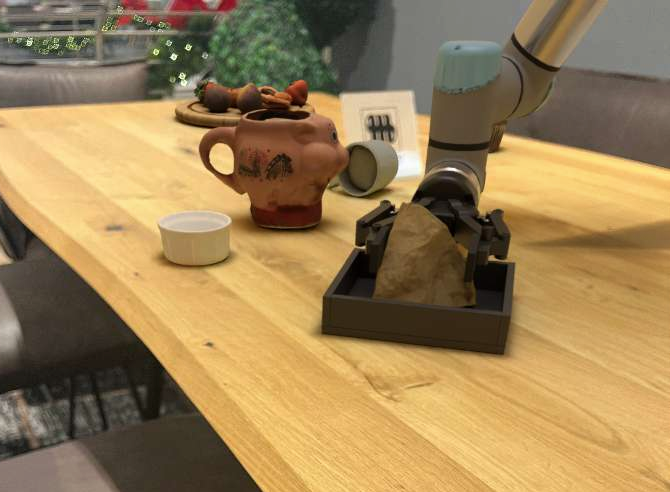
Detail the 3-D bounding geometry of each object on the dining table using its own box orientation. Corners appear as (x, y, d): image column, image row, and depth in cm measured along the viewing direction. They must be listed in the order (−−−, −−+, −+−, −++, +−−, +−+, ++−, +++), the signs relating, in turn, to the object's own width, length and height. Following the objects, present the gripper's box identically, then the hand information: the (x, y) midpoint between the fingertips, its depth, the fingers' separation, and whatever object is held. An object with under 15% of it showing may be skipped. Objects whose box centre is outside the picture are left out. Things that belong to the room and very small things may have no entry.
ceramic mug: (400, 189, 122) (403, 136, 118) (377, 200, 116) (380, 145, 112) (342, 181, 127) (343, 130, 122) (317, 191, 121) (318, 138, 117)
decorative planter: (198, 234, 101) (191, 119, 93) (205, 210, 111) (200, 103, 103) (348, 235, 101) (354, 120, 93) (342, 210, 111) (347, 104, 103)
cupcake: (497, 144, 153) (505, 88, 148) (507, 154, 146) (516, 95, 140) (449, 143, 154) (456, 87, 148) (457, 153, 146) (464, 94, 140)
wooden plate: (309, 106, 189) (310, 68, 185) (320, 130, 163) (322, 87, 159) (179, 106, 188) (177, 68, 183) (170, 130, 162) (167, 86, 157)
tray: (509, 296, 84) (515, 262, 82) (503, 354, 71) (511, 315, 69) (352, 281, 87) (354, 247, 85) (321, 333, 75) (322, 296, 73)
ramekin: (210, 272, 89) (208, 234, 87) (146, 261, 92) (142, 224, 90) (245, 251, 96) (244, 215, 93) (184, 241, 99) (182, 206, 96)
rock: (492, 272, 81) (404, 246, 83) (501, 220, 73) (403, 193, 75) (454, 358, 78) (365, 329, 81) (458, 314, 70) (359, 283, 73)
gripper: (531, 243, 90) (528, 313, 72) (355, 228, 94) (311, 290, 76) (544, 175, 85) (544, 232, 67) (359, 163, 90) (313, 213, 72)
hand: (421, 263), depth 72 cm, fingers closed on rock, 8 cm apart
